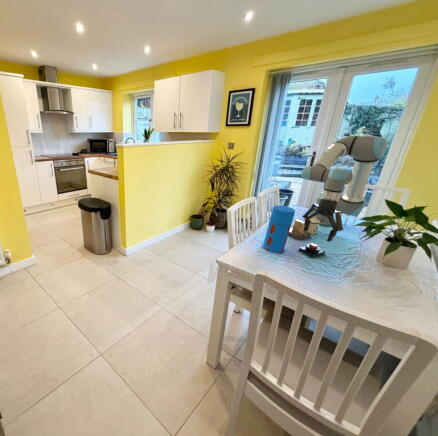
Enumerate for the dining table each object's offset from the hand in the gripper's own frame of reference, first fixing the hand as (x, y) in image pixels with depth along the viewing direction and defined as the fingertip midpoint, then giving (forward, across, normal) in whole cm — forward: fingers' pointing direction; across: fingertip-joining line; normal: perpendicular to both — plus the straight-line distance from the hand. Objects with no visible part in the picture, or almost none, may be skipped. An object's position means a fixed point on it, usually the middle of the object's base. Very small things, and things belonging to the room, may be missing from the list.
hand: (316, 235), depth 125 cm
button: (+7, 0, 0) cm, 7 cm away
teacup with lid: (+11, -21, +27) cm, 36 cm away
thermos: (+11, -11, -17) cm, 23 cm away
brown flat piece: (+11, -19, +13) cm, 25 cm away
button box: (+11, 0, 0) cm, 11 cm away
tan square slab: (+8, -19, +13) cm, 24 cm away
